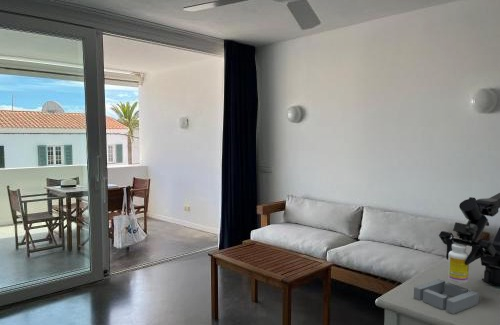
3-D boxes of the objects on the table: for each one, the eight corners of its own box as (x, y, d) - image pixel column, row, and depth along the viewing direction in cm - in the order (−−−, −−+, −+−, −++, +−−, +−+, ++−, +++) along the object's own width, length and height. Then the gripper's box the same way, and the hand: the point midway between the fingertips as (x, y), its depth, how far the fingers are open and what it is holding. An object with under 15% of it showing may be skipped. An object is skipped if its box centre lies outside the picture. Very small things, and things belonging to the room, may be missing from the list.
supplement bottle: (470, 284, 139) (472, 248, 138) (450, 282, 140) (451, 247, 139) (464, 277, 145) (465, 243, 144) (445, 276, 146) (446, 242, 145)
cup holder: (438, 289, 150) (439, 279, 149) (478, 304, 137) (478, 292, 136) (413, 297, 142) (414, 287, 142) (453, 314, 129) (453, 302, 129)
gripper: (442, 210, 151) (423, 242, 146) (493, 219, 135) (473, 256, 130) (453, 227, 155) (435, 259, 151) (503, 238, 139) (485, 274, 135)
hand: (456, 261), depth 141 cm, fingers closed on supplement bottle, 7 cm apart
